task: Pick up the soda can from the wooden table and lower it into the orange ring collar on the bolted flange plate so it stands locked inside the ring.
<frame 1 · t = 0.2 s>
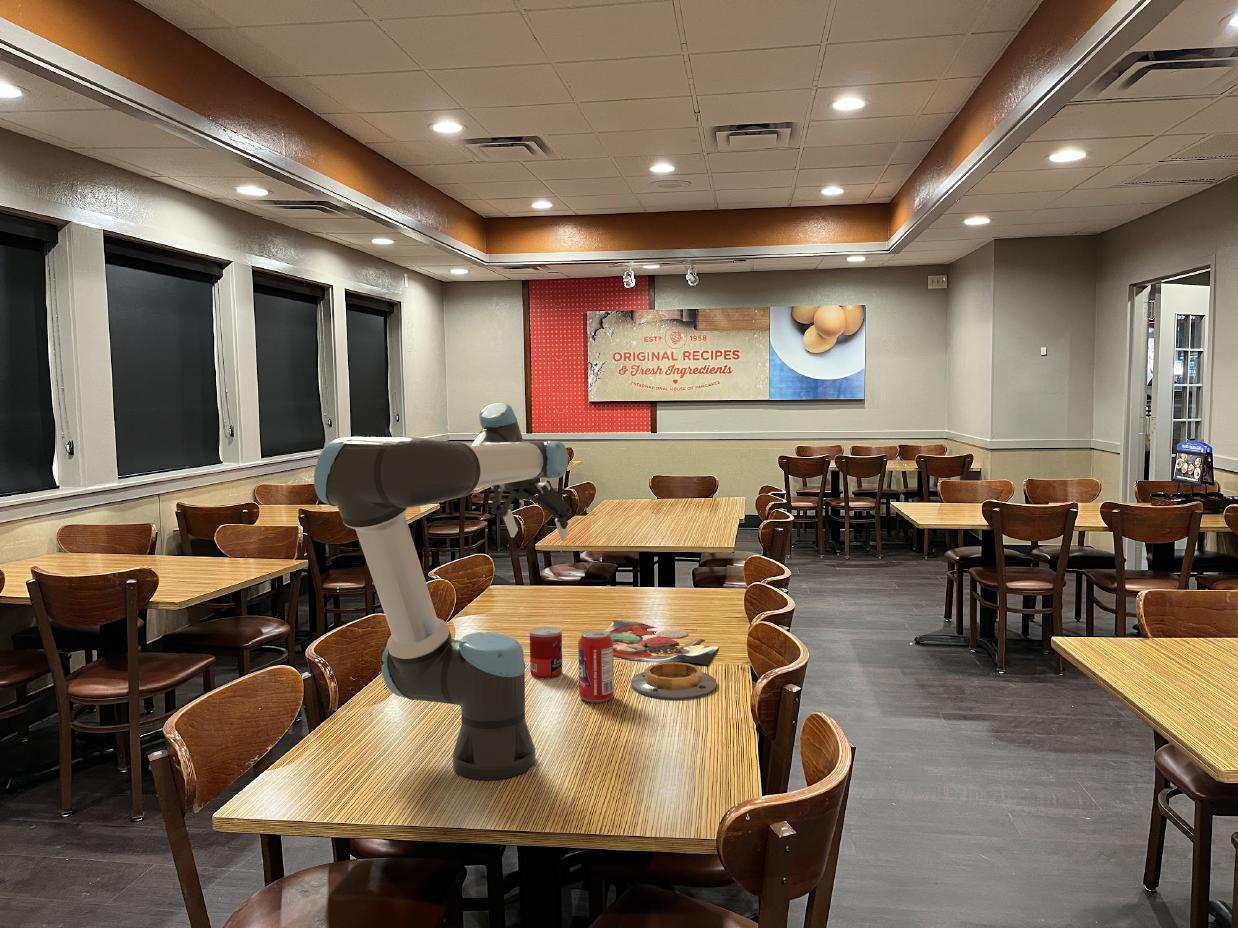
hand: (539, 535, 206), 35 cm above the table, tool tilted 35°, fingers open, 13 cm apart
soda can: (596, 699, 194), on the table
canned food: (546, 675, 212), on the table
bolted flange plate: (673, 685, 203), on the table
colorful printed placemat: (656, 646, 239), on the table
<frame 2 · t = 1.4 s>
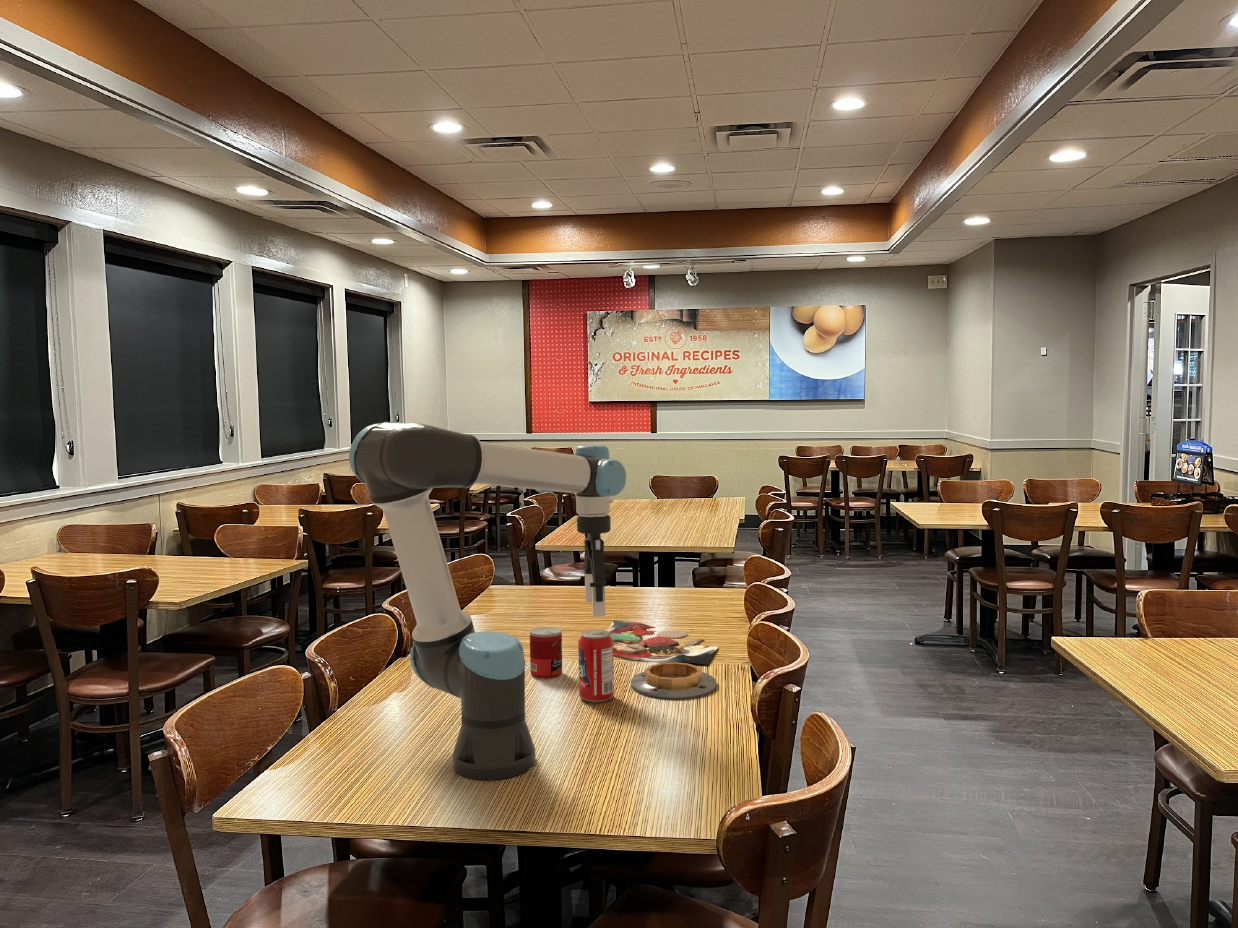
hand: (595, 608, 193), 20 cm above the table, tool pointing down, fingers open, 13 cm apart
nothing on the table moved.
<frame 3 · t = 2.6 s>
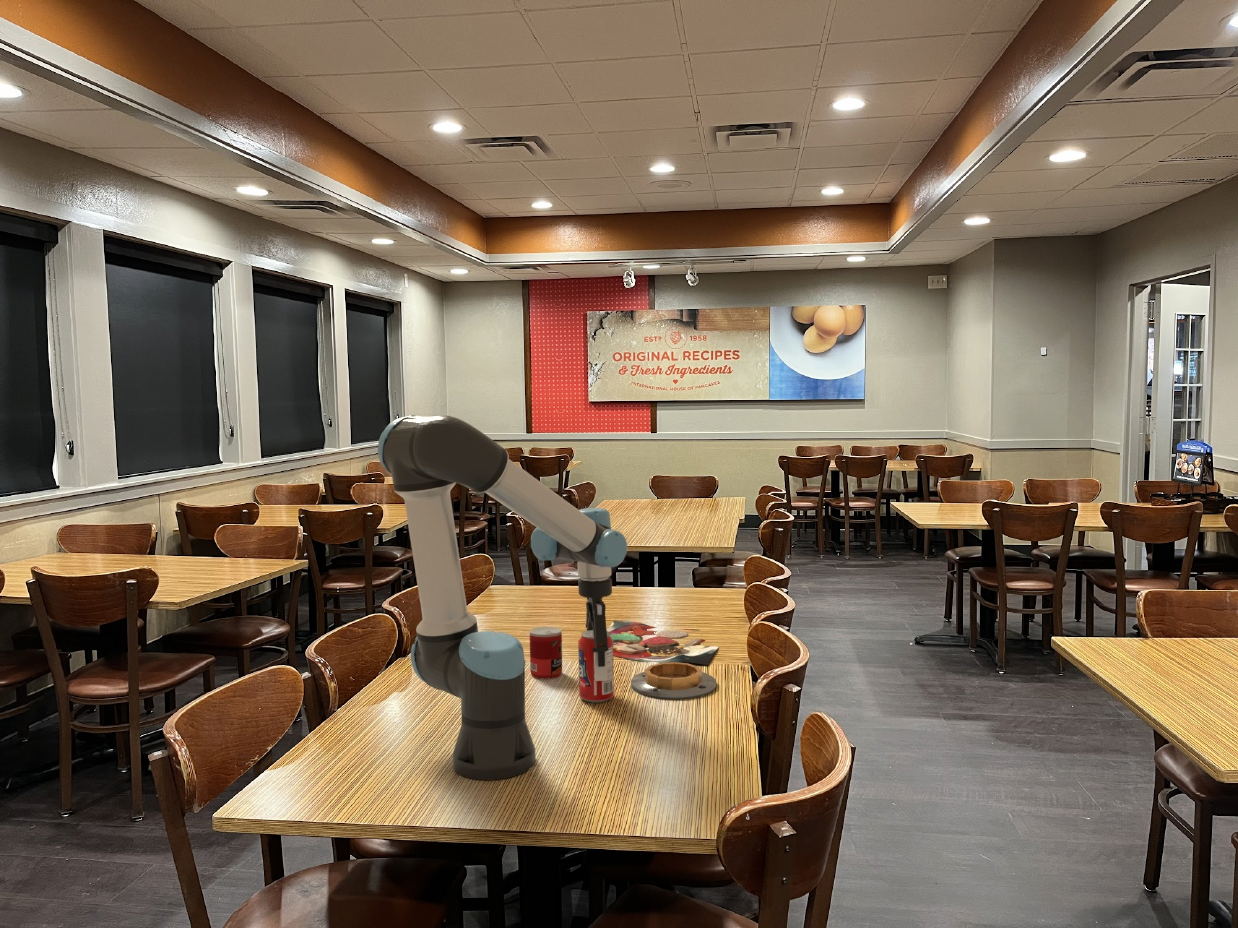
hand: (597, 670, 194), 6 cm above the table, tool pointing down, fingers open, 13 cm apart
nothing on the table moved.
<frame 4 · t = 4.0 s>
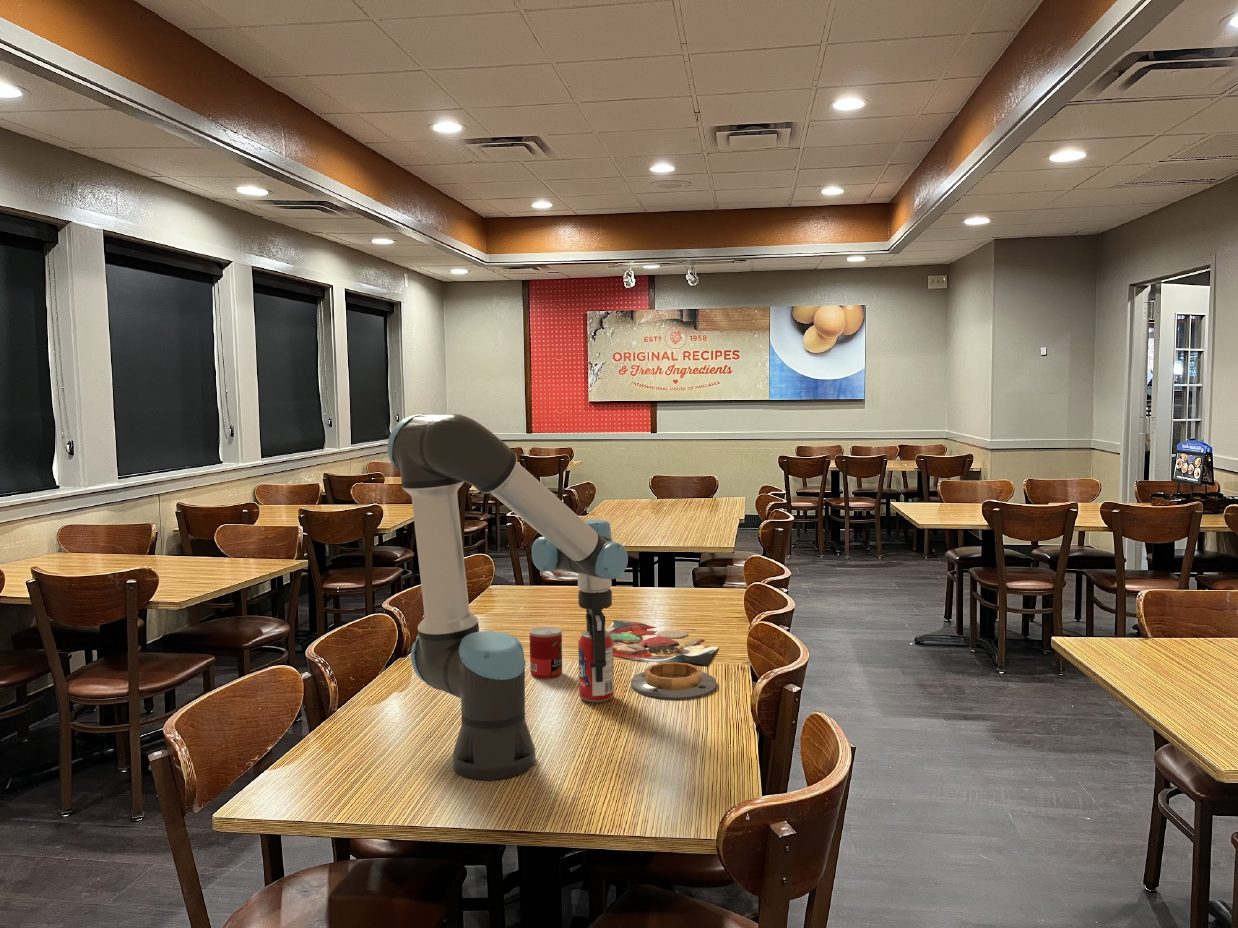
hand: (596, 688, 194), 2 cm above the table, tool pointing down, fingers closed on soda can, 8 cm apart
soda can: (596, 699, 194), on the table, touching gripper
everything else where it was.
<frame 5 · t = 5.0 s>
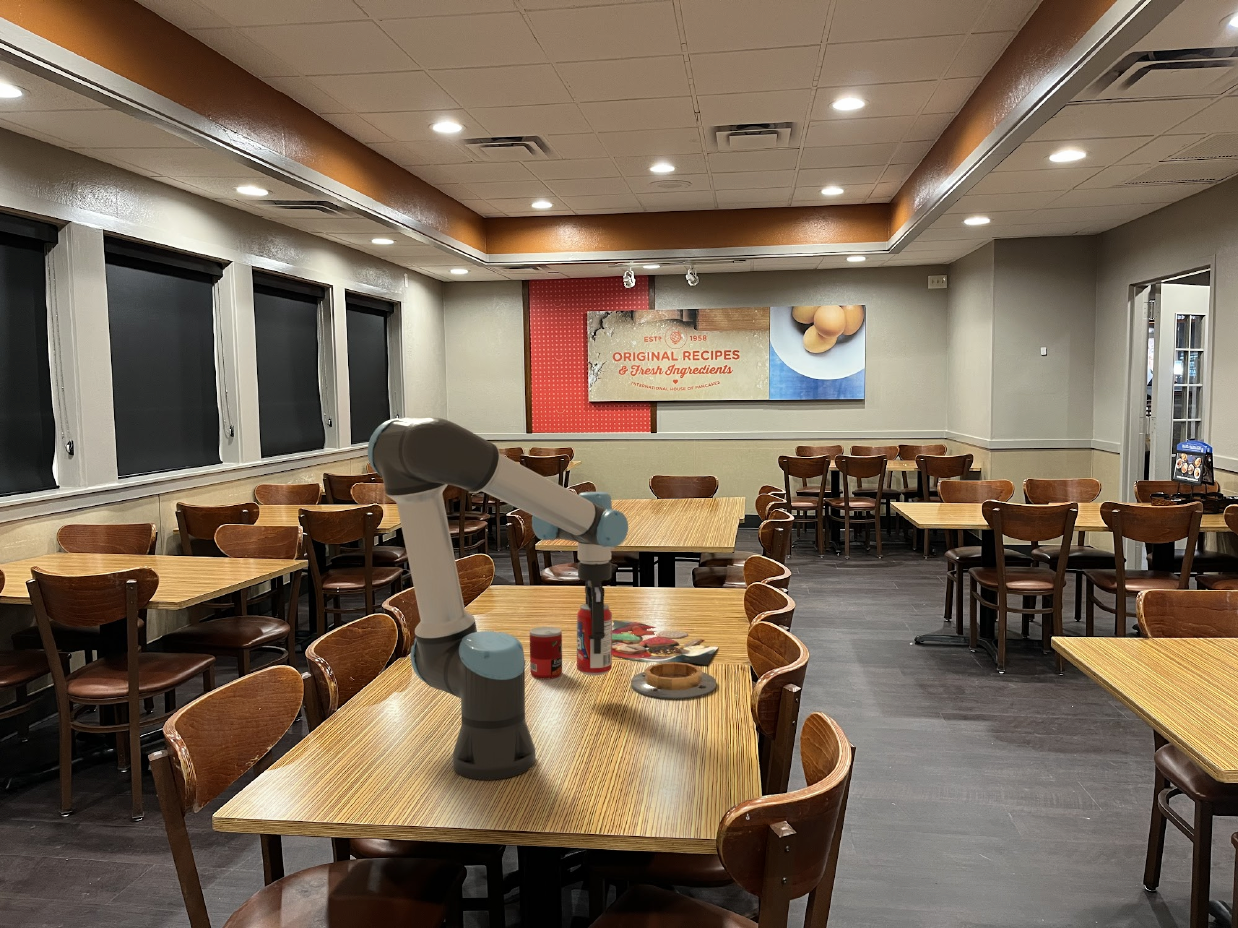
hand: (594, 661, 193), 9 cm above the table, tool pointing down, fingers closed on soda can, 8 cm apart
soda can: (594, 672, 193), point 6 cm above the table, touching gripper
everything else where it was.
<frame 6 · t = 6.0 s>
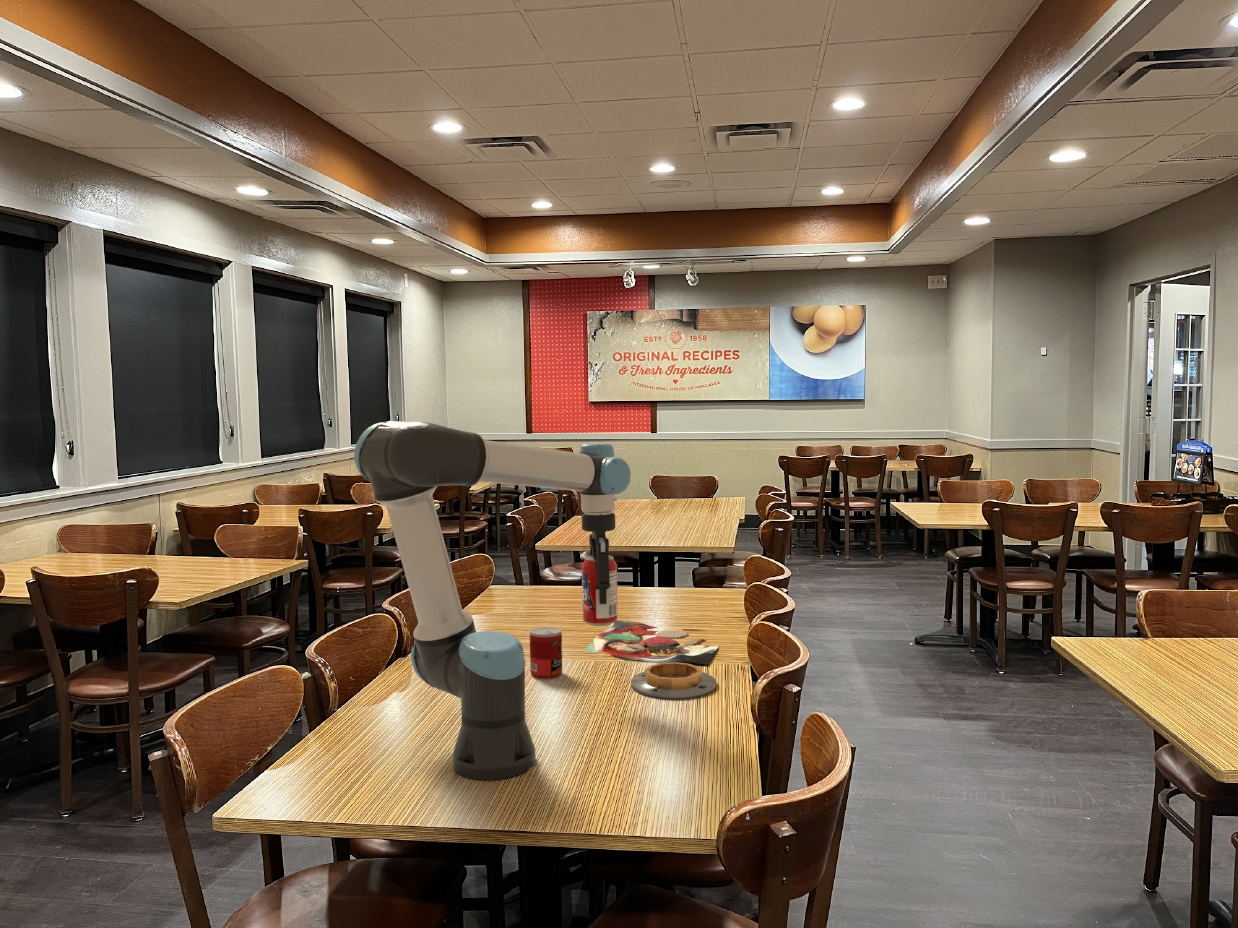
hand: (600, 613, 193), 19 cm above the table, tool pointing down, fingers closed on soda can, 8 cm apart
soda can: (600, 623, 193), point 17 cm above the table, touching gripper
everything else where it was.
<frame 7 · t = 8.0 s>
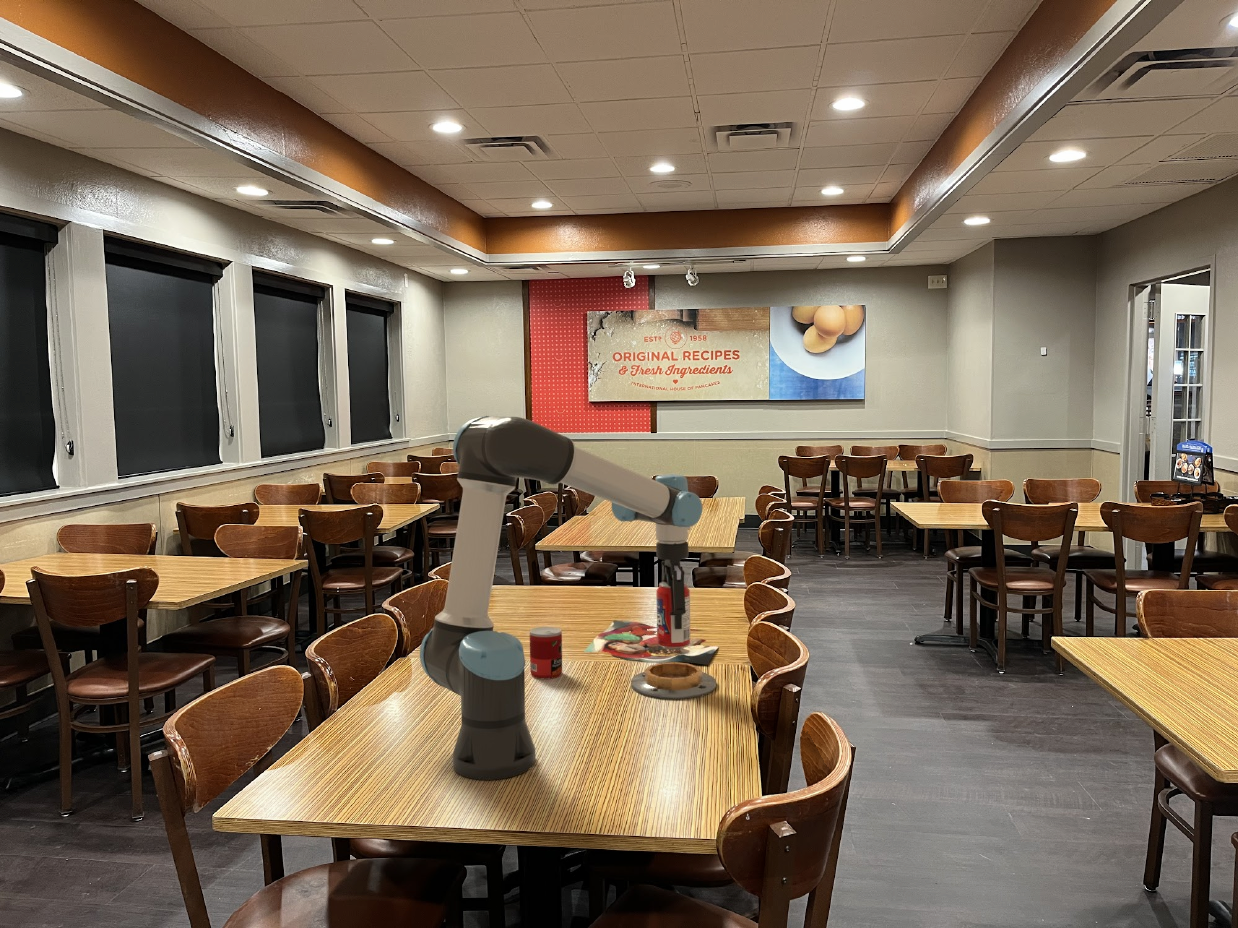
hand: (673, 637, 202), 11 cm above the table, tool pointing down, fingers closed on soda can, 8 cm apart
soda can: (673, 647, 202), point 9 cm above the table, touching gripper
everything else where it was.
when the fingers open (6 cm above the table, at t = 9.9 s): soda can drops 2 cm, resting on bolted flange plate.
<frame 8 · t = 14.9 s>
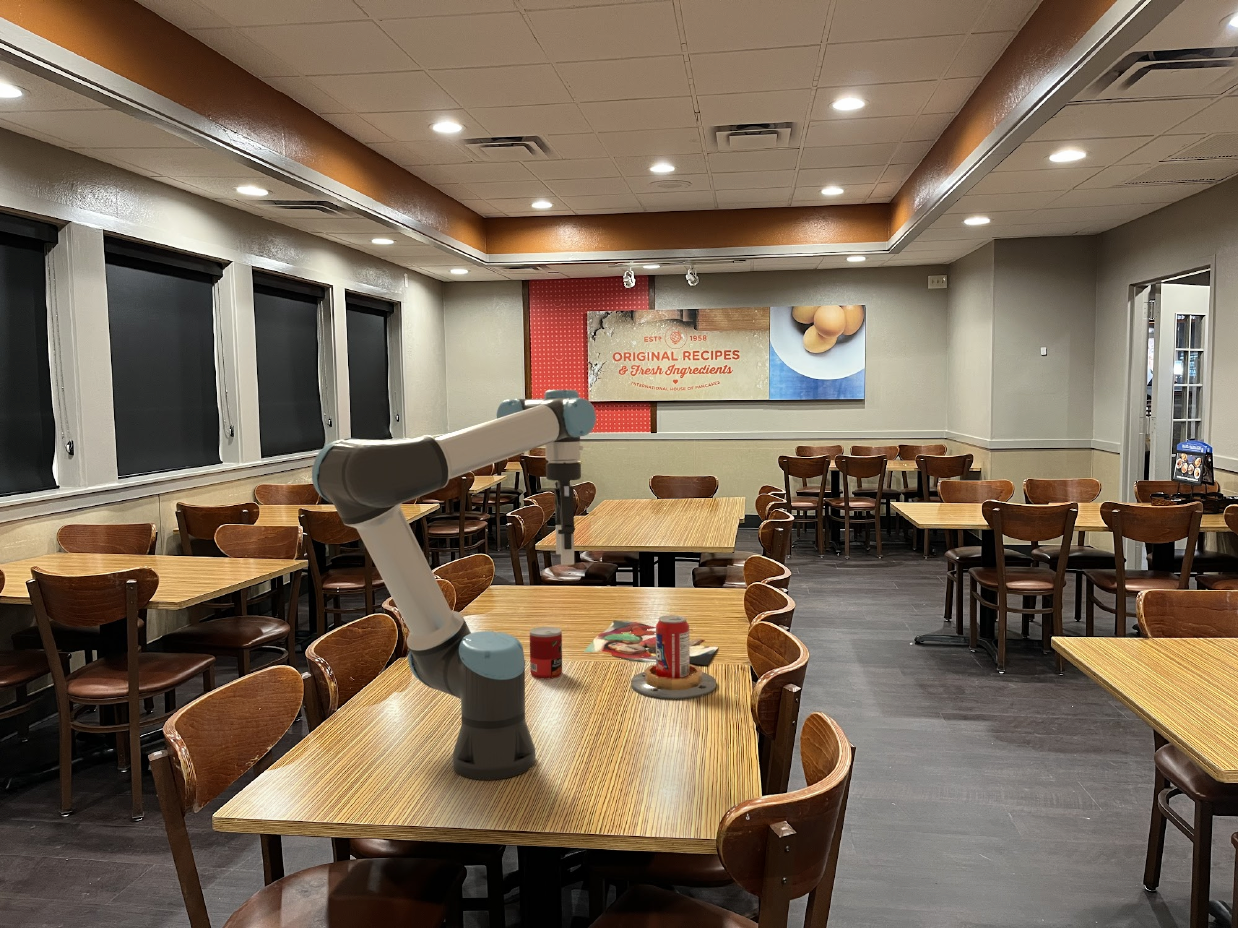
hand: (564, 559, 187), 33 cm above the table, tool pointing down, fingers open, 13 cm apart
soda can: (673, 681, 202), point 1 cm above the table, touching bolted flange plate
everything else where it was.
at the end: soda can 0.1 cm off-centre on the bolted flange plate, point 0.8 cm above the bolted flange plate's base; soda can tilted 0°; the gripper is holding nothing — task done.
